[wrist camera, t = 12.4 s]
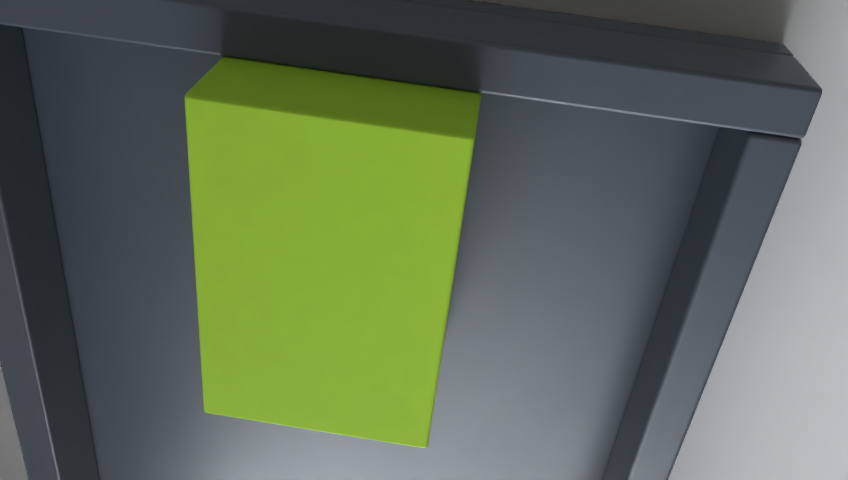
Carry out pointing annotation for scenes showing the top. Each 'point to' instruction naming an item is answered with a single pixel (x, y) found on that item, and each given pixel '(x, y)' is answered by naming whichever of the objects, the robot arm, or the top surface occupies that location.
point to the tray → (477, 252)
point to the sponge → (325, 244)
